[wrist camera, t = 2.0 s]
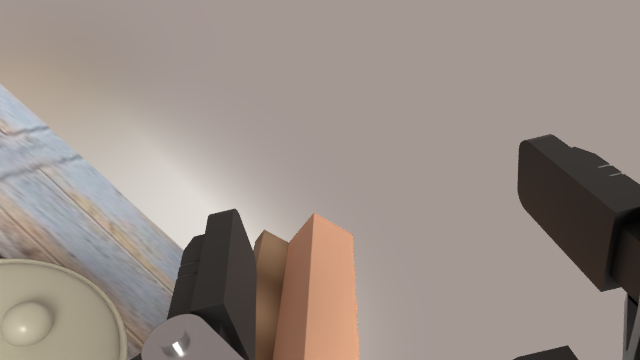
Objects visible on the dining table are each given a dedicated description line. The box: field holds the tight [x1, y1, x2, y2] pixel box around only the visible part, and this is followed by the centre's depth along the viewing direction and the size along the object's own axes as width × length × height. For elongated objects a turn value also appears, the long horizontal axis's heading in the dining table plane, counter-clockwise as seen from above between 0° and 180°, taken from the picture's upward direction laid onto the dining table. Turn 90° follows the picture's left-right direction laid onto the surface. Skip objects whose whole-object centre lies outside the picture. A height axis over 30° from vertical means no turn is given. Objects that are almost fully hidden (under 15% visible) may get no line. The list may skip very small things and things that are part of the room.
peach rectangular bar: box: [273, 213, 360, 360], centre depth 29 cm, size 21×4×4 cm, turn 178°
